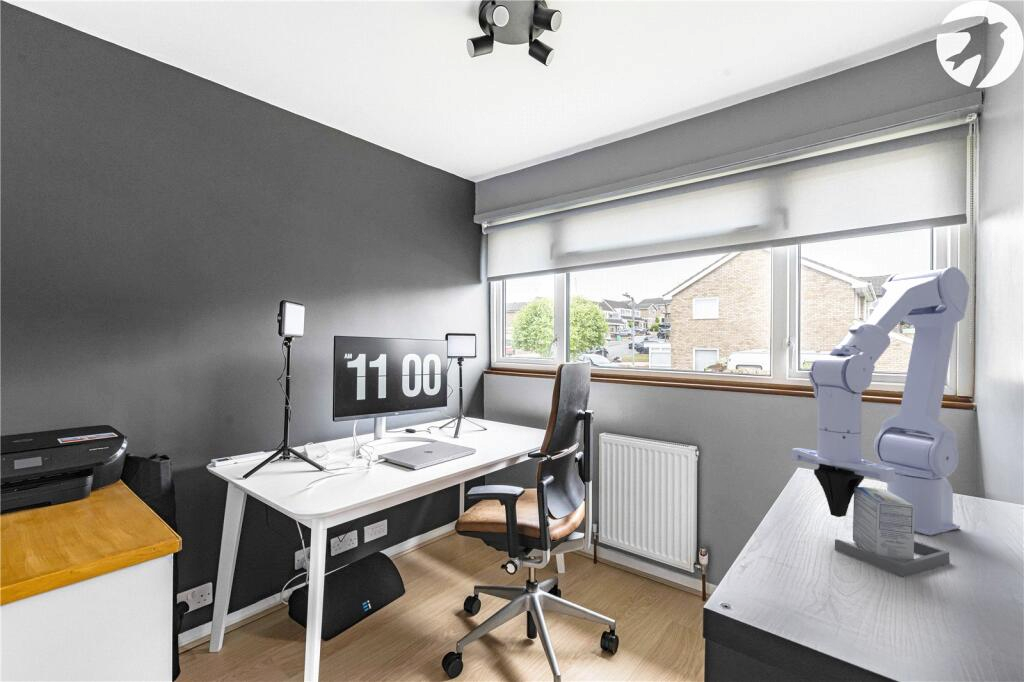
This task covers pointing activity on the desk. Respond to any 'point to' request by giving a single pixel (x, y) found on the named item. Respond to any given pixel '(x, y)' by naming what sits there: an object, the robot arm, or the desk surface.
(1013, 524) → the desk surface
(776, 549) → the desk surface
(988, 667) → the desk surface
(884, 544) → the medicine box
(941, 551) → the dock
